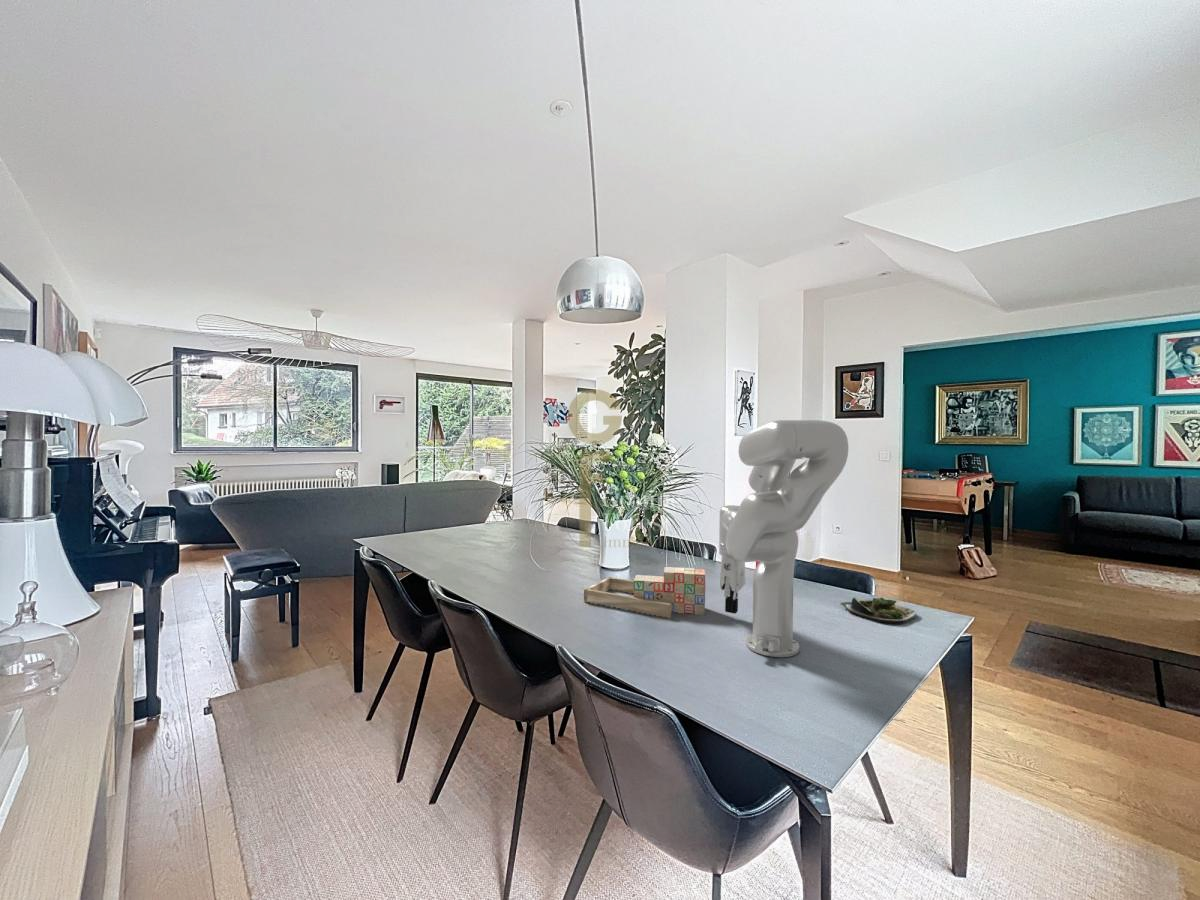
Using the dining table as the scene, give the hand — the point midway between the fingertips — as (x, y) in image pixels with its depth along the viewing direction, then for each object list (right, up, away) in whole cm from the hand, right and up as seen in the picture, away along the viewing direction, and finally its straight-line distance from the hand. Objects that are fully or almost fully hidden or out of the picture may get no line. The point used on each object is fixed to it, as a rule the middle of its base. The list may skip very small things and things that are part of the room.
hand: (731, 611), depth 149 cm
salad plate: (+44, -2, +4) cm, 45 cm away
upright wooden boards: (-26, -2, +15) cm, 30 cm away
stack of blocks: (-17, -2, +8) cm, 19 cm away
